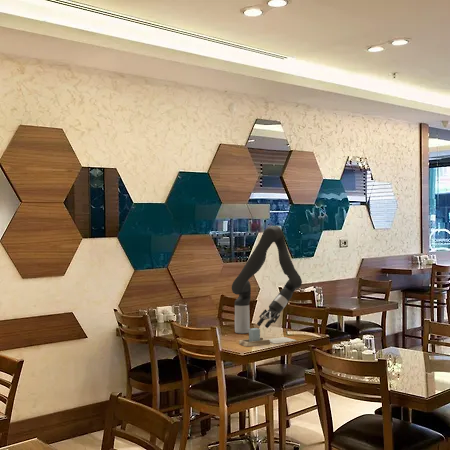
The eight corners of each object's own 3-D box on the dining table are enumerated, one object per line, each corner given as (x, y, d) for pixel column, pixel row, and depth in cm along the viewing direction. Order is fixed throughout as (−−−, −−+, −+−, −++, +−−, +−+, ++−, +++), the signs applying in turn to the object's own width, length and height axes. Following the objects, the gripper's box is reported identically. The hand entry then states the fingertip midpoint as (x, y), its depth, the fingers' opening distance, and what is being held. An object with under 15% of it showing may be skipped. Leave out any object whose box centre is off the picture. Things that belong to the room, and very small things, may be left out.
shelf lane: (239, 344, 329) (239, 340, 329) (262, 341, 337) (261, 337, 337) (246, 346, 322) (246, 342, 322) (269, 343, 329) (269, 339, 329)
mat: (263, 340, 339) (263, 339, 339) (284, 337, 346) (284, 336, 346) (274, 343, 328) (274, 343, 328) (296, 340, 335) (296, 340, 335)
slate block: (249, 343, 330) (248, 328, 330) (256, 342, 332) (255, 327, 332) (253, 345, 326) (252, 330, 326) (260, 344, 328) (259, 329, 328)
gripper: (267, 298, 342) (251, 320, 337) (281, 301, 329) (264, 323, 324) (275, 307, 344) (259, 328, 339) (289, 309, 332) (272, 332, 326)
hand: (262, 326), depth 332 cm, fingers open, 8 cm apart
